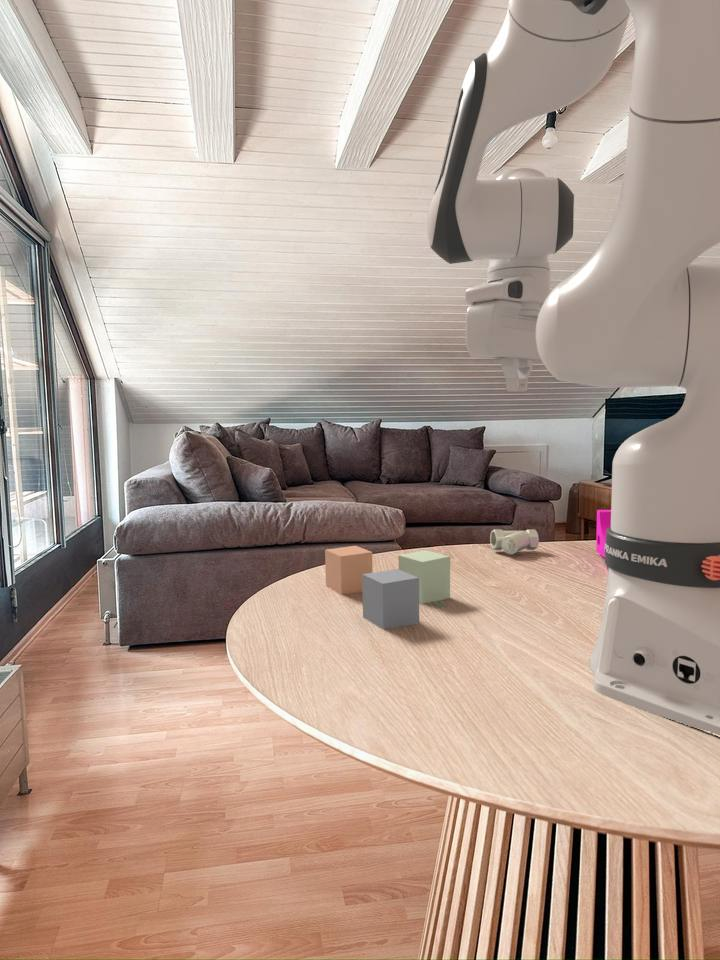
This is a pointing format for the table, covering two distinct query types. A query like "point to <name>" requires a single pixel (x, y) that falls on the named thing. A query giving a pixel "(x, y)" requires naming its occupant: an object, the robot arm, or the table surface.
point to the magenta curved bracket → (602, 530)
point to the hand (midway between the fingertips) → (516, 391)
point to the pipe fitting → (514, 540)
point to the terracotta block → (347, 568)
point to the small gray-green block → (439, 604)
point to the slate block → (391, 598)
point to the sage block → (428, 574)
